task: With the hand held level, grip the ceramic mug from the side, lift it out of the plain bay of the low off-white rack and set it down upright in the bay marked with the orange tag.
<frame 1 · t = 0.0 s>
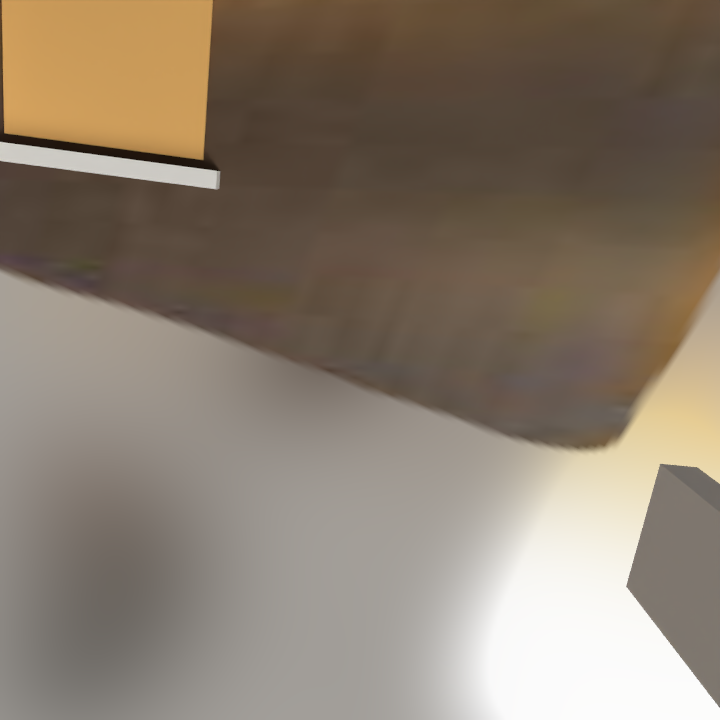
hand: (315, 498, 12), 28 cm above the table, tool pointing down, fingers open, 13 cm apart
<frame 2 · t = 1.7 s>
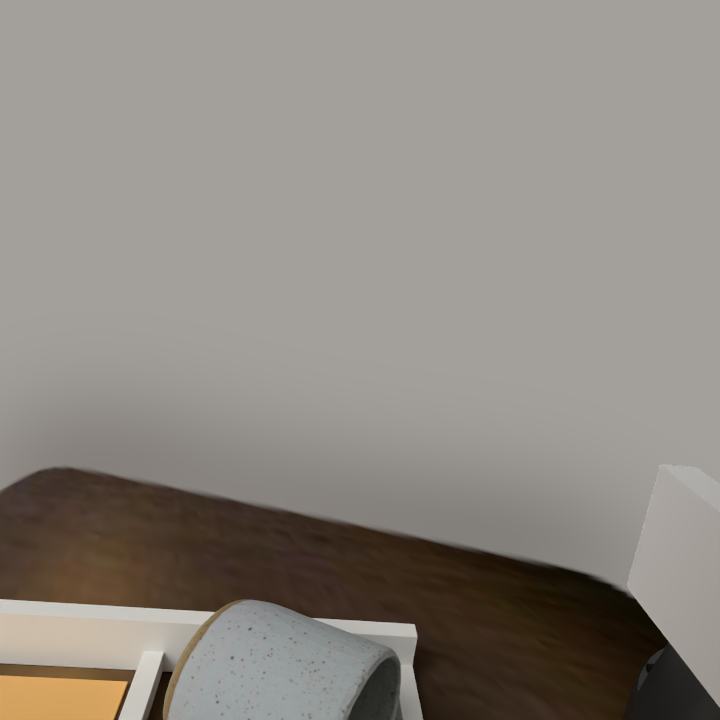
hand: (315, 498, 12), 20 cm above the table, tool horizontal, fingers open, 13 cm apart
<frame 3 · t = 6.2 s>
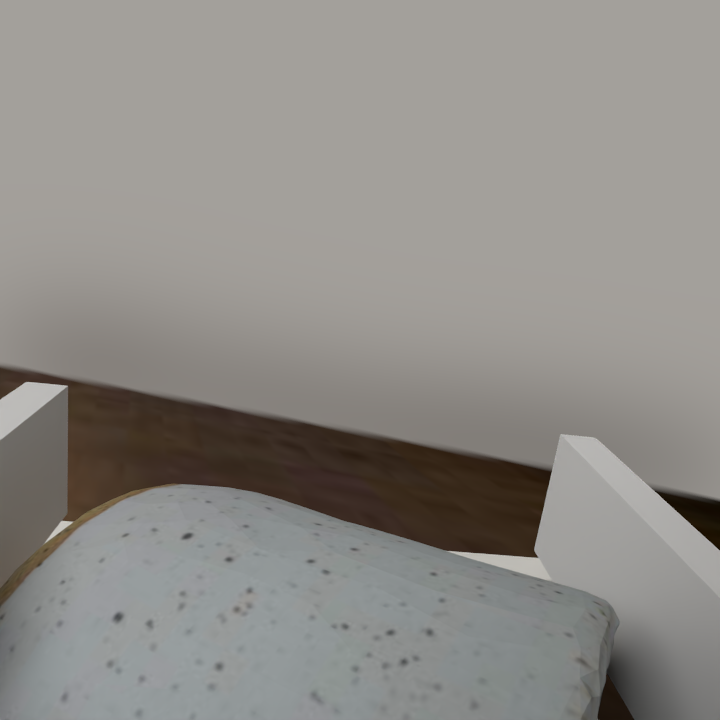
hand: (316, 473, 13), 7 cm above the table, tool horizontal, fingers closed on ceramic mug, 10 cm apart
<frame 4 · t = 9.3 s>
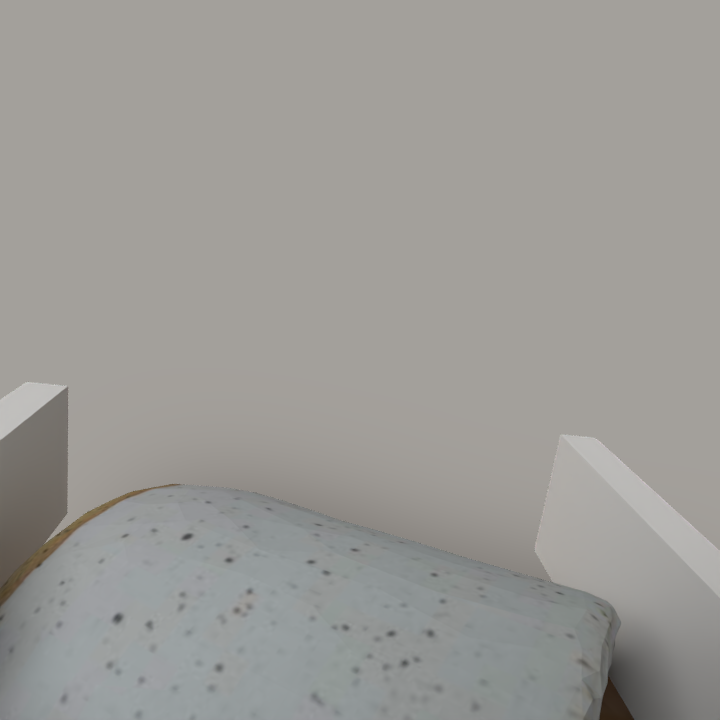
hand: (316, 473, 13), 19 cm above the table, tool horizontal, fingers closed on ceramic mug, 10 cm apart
when the fingers open (8 cm above the table, at t = 12.0 s): ceramic mug drops 1 cm, resting on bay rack.
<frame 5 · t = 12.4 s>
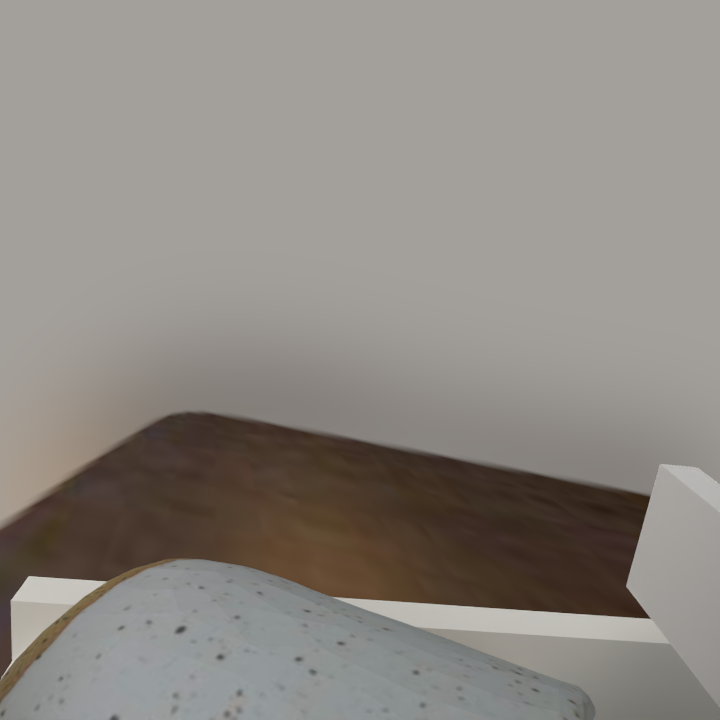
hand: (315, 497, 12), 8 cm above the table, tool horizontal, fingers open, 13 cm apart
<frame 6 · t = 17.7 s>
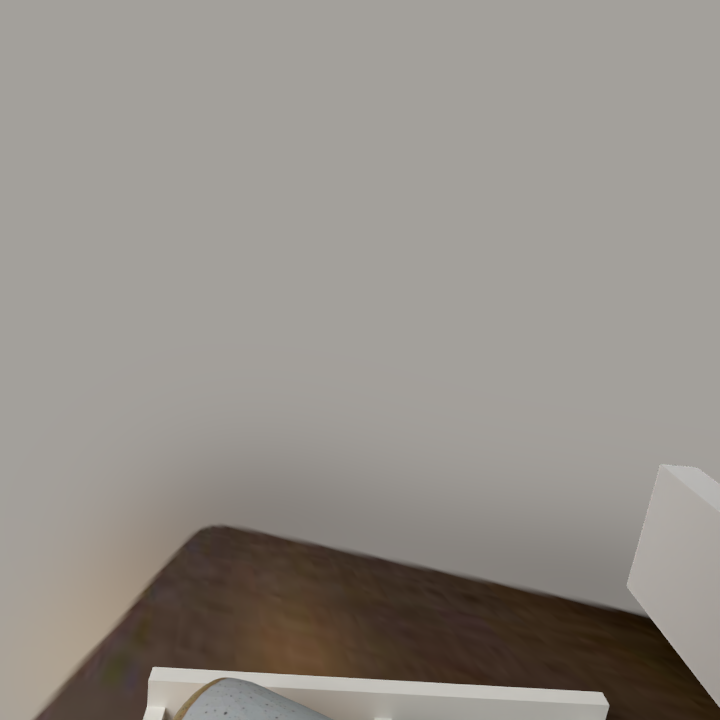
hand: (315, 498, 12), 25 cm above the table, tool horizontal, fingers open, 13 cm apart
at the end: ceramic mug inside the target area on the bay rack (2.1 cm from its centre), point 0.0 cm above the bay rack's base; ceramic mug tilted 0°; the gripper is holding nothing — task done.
